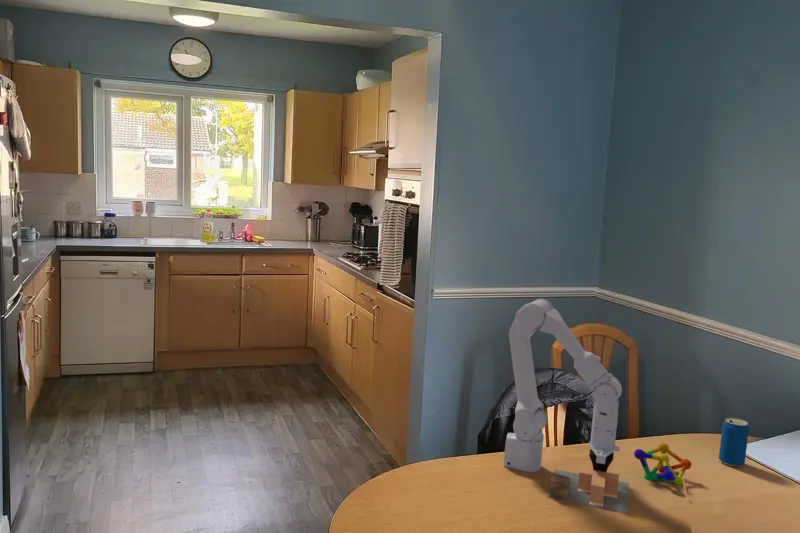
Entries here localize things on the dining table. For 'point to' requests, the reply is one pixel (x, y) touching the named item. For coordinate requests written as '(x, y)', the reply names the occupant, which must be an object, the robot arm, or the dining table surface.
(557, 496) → the walnut cube
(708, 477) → the dining table surface
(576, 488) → the board
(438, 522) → the dining table surface
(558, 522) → the dining table surface
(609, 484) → the t block
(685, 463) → the decorative model
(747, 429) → the beverage can
